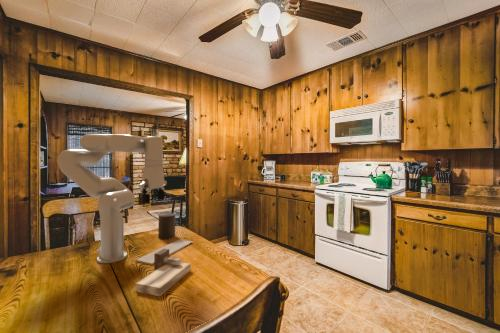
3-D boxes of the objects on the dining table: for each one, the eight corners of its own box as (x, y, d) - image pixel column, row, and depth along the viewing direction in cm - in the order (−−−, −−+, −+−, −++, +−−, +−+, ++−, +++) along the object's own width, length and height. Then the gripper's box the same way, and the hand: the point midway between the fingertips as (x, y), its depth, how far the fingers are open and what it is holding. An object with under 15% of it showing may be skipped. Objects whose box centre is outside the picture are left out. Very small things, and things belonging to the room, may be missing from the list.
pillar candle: (165, 240, 138) (165, 214, 138) (154, 237, 143) (155, 212, 143) (178, 236, 146) (178, 212, 146) (168, 233, 151) (168, 210, 151)
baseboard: (132, 261, 110) (151, 266, 106) (131, 255, 110) (151, 260, 106) (175, 241, 139) (192, 244, 134) (175, 236, 139) (193, 238, 134)
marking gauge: (154, 272, 99) (154, 253, 99) (163, 266, 105) (163, 248, 104) (175, 276, 96) (175, 256, 96) (183, 269, 102) (183, 251, 102)
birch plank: (136, 291, 84) (136, 283, 84) (170, 267, 104) (170, 260, 103) (159, 296, 82) (159, 287, 81) (190, 270, 101) (190, 263, 101)
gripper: (159, 163, 116) (159, 198, 117) (132, 164, 100) (132, 204, 100) (172, 163, 114) (172, 198, 115) (147, 164, 98) (147, 205, 98)
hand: (153, 201), depth 108 cm, fingers open, 9 cm apart
